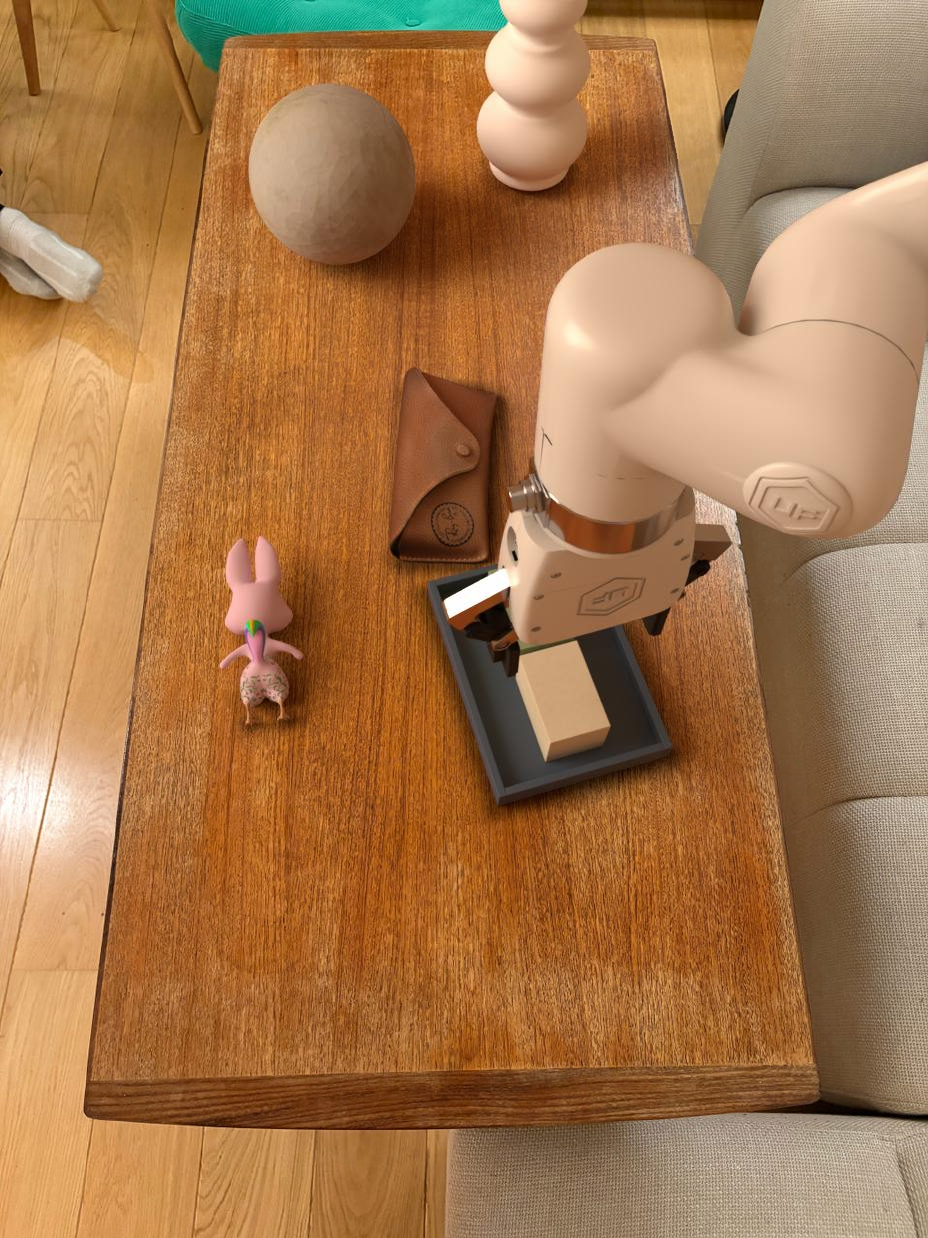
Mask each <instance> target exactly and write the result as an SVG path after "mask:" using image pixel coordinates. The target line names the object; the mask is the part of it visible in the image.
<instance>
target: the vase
mask: <svg viewBox="0 0 928 1238" xmlns="http://www.w3.org/2000/svg"><path fill="white" fill-rule="evenodd" d="M498 1H499V2H498V3H499V6H500V10H501V12H502V14H503V16H504V17H505V19H506V20H507V23H506V25H504V26H503V27H502V28H501V29H499V31H498V32H497V33H495V34H494V36H493V37H492V39H491V41H490V43H489V44H488V46H487V50H486V54H485V57H484V69H485V74H486V78H487V80H488V82H489V84H490V87H491V88H492V89H493V91H492V92H491V94H489V96H487V98H486V99H485V101H484V102H483V103H482V105H481V107H480V110H479V113H478V116H477V121H476V137H477V141H478V144H479V147H480V149H481V151H482V153H483V155H484V156H485V158H486V159H487V160H488V162H489V168H490V170H491V172H492V174H493V176H494V177H495V178H496V179H497V180H498V181H499V182H500V183H502V184H503V185H506V186H507V187H510V188H511V189H515V190H519V191H525V192H536V191H537V192H538V191H542V190H547V189H550V188H552V187H554V186H556V185H557V184H560V182H561V181H562V180H564V178H565V177H566V175H567V174H568V172H569V170H570V169H569V168H570V167H571V166H572V165H573V164H574V163H575V162H576V161H577V160H578V158H579V157H580V156H581V154H582V152H583V150H584V148H585V145H586V142H587V140H588V139H587V138H588V131H589V127H588V126H589V124H588V118H587V114H586V111H585V109H584V107H583V105H582V103H581V102H580V100H579V98H577V96H578V95H579V94H580V93H581V91H582V90H583V89H584V88H585V86H586V84H587V82H588V80H589V76H590V74H591V73H590V72H591V55H590V51H589V48H588V46H587V44H586V42H585V40H584V38H583V37H582V35H580V33H579V32H578V31H577V30H576V28H575V25H576V24H577V23H578V22H579V21H580V20H581V19H582V18H583V16H584V14H585V11H586V10H587V6H588V2H589V1H588V0H498Z"/></svg>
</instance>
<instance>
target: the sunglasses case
mask: <svg viewBox="0 0 928 1238" xmlns="http://www.w3.org/2000/svg"><path fill="white" fill-rule="evenodd" d="M497 399H498V394H497V393H496V392H495V391H489V390H482V391H481V390H478V389H474V388H472V387H469V386H466V385H463V384H460V383H457V382H454V381H451V380H448V379H445V378H442V377H439V376H436V375H433V374H430V373H427V372H425V371H422V370H421V368H419V367H417V366H412V367H410V368H409V369H407V371H406V372H405V374H404V376H403V387H402V393H401V400H400V410H399V419H398V431H397V440H396V451H395V464H394V472H393V484H392V494H391V505H390V506H391V509H390V521H389V536H388V537H389V542H388V547H389V551H390V553H391V555H392V556H393V557H395V558H396V559H398V560H400V561H402V562H413V563H428V564H429V563H430V564H475V563H476V564H477V563H482V562H485V561H487V560H488V559H489V557H490V536H489V535H490V534H489V528H490V527H489V505H488V503H489V477H490V464H491V463H490V462H491V461H490V457H491V445H492V444H491V442H492V431H493V423H494V415H495V408H496V404H497V401H498V400H497Z"/></svg>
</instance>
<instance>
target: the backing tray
mask: <svg viewBox="0 0 928 1238" xmlns="http://www.w3.org/2000/svg"><path fill="white" fill-rule="evenodd" d="M495 569H498V563H493V564H490V565H487V566H482V567H478V568H474V569H471V570H467V571H463V572H459V573H456V574H455V573H454V574H451V575H447V576H444V577H439V578H435V579H432V580H428V581H427V594H428V598H429V601H430V604H431V607H432V610H433V613H434V616H435V620H436V622H437V625H438V627H439V631H440V634H441V637H442V640H443V641H442V642H443V643H444V647H445V649H446V652H447V656H448V659H449V663H450V665H451V668H452V672H453V674H454V677H455V680H456V683H457V687H458V689H459V693H460V696H461V699H462V701H463V705H464V708H465V711H466V714H467V716H468V720H469V723H470V726H471V729H472V732H473V735H474V738H475V742H476V744H477V747H478V750H479V753H480V757H481V760H482V762H483V766H484V770H485V771H486V775H487V778H488V781H489V784H490V787H491V790H492V792H493V797H494V799H495V802H496V805H497V807H499V806H503V805H506V804H509V803H513V802H517V801H520V800H524V799H527V798H530V797H533V796H538V795H541V794H543V793H547V792H551V791H555V790H558V789H561V788H564V787H565V788H566V787H568V786H571V785H574V784H578V783H582V782H585V781H588V780H591V779H595V778H599V777H602V776H605V775H609V774H613V773H616V772H619V771H623V770H626V769H629V768H633V767H636V766H639V765H643V764H647V763H650V762H653V761H658V760H660V759H664V758H666V757H669V755H670V753H671V751H672V749H673V747H674V746H673V743H672V741H671V739H670V736H669V734H668V732H667V729H666V727H665V724H664V722H663V720H662V718H661V715H660V712H659V710H658V708H657V705H656V703H655V701H654V698H653V696H652V694H651V691H650V689H649V687H648V685H647V682H646V679H645V677H644V674H643V672H642V670H641V667H640V665H639V663H638V661H637V657H636V656H635V653H634V651H633V648H632V646H631V643H630V641H629V639H628V637H627V634H626V632H625V630H624V629H625V628H624V627H623V625H622V624H620V625H616V626H613V627H609V628H606V629H602V630H599V631H595V632H591V633H588V634H584V635H580V636H577V637H574V641H577V642H578V644H579V647H580V649H581V652H582V654H583V657H584V659H585V662H586V665H587V667H588V670H589V672H590V675H591V677H592V680H593V682H594V685H595V687H596V690H597V692H598V695H599V698H600V700H601V703H602V705H603V708H604V710H605V713H606V715H607V718H608V720H609V723H610V725H611V726H610V729H609V731H608V734H607V736H606V739H605V742H604V744H603V746H600V747H597V748H593V749H590V750H586V751H583V752H579V753H576V754H572V755H569V756H566V757H562V758H559V759H555V760H552V761H548V762H545V760H544V757H543V754H542V751H541V748H540V746H539V743H538V740H537V737H536V734H535V732H534V729H533V726H532V723H531V720H530V718H529V715H528V712H527V709H526V706H525V704H524V701H523V698H522V695H521V692H520V690H519V687H518V684H517V681H516V676H512V677H509V678H508V677H507V676H506V673H505V670H504V667H503V665H502V662H501V661H500V662H496V663H493V662H492V660H491V657H490V654H489V651H488V648H487V644H486V641H480V640H475V639H470V638H467V637H466V635H465V633H464V631H462V630H461V631H460V630H458V629H456V628H455V627H453V626H452V625H450V624H448V622H447V620H446V617H445V614H444V611H443V608H442V605H441V604H442V602H443V601H444V600H445V599H447V598H449V597H451V596H452V595H454V594H456V593H458V592H460V591H462V590H464V589H465V588H467V587H469V586H471V585H473V584H475V583H477V582H478V581H480V580H482V579H484V578H486V577H488V571H491V570H495Z"/></svg>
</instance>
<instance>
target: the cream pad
mask: <svg viewBox="0 0 928 1238" xmlns="http://www.w3.org/2000/svg"><path fill="white" fill-rule="evenodd" d="M516 681H517V684H518V687H519V690H520V692H521V695H522V698H523V701H524V704H525V706H526V709H527V712H528V715H529V718H530V720H531V723H532V726H533V729H534V732H535V734H536V737H537V740H538V743H539V746H540V748H541V751H542V754H543V757H544V760H545V762H548V761H552V760H555V759H559V758H562V757H566V756H569V755H572V754H576V753H579V752H583V751H586V750H590V749H593V748H597V747H600V746H603V744H604V742H605V739H606V736H607V734H608V731H609V729H610V726H611V725H610V723H609V720H608V718H607V715H606V713H605V710H604V708H603V705H602V703H601V700H600V698H599V695H598V692H597V690H596V687H595V685H594V682H593V680H592V677H591V675H590V672H589V670H588V667H587V665H586V662H585V659H584V657H583V654H582V652H581V649H580V647H579V644H578V642H577V641H573V642H569V643H566V644H562V645H558V646H554V647H551V648H547V649H543V650H540V651H536V652H532V653H529V654H525V655H521V656H520V658H519V668H518V673H516Z"/></svg>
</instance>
